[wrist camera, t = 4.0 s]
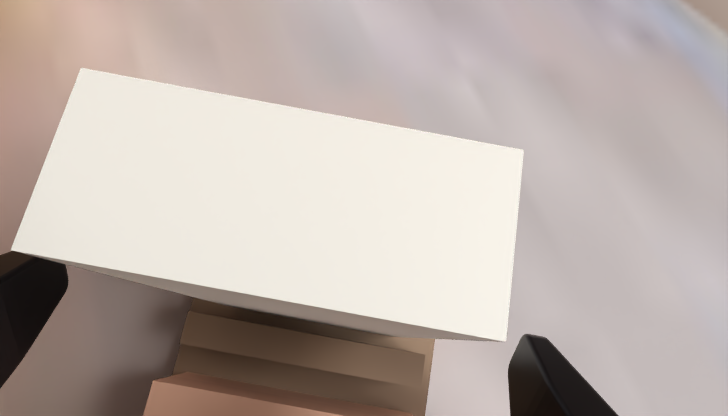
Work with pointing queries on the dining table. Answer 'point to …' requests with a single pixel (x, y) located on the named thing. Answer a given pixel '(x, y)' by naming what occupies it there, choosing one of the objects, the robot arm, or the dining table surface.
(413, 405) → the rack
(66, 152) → the tall white pillar
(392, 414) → the block
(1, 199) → the dining table surface
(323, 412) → the offcut top
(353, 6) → the dining table surface
